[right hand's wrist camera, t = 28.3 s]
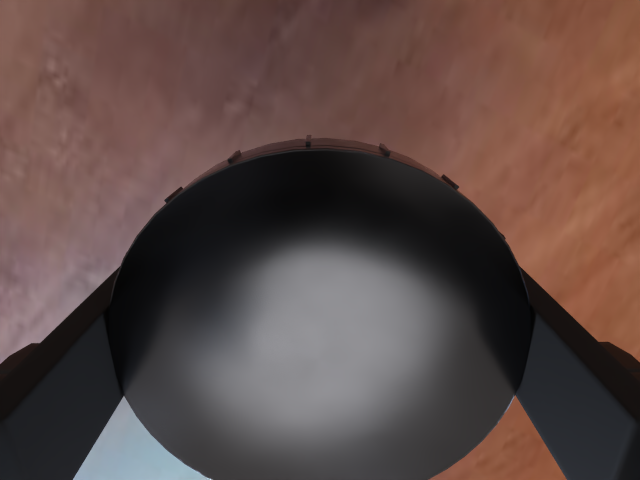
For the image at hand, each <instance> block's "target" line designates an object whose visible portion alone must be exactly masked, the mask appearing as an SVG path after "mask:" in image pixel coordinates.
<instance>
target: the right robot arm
mask: <svg viewBox="0 0 640 480" xmlns="http://www.w3.org/2000/svg"><path fill="white" fill-rule="evenodd" d="M519 267H520V266H519ZM119 269H120V267H119V268H118V269H117V270H116V271H115V272H114V273H113V274H112V275H110V276H109V277H108V278H107V279H106V280H105V281H104V282H103V283H102V284H101V285H100V286H99V287H98V288H97V289H96V290H95V291H94V292H93V293H92V294H91V295H90V296H89V297H88V298H87V299H86V300H85V301H83V302H82V303H81V304H80V305H79V306H78V307H77V308H76V309H75V310H74V311H73V312H72V313H71V314H70V315H69V316H68V317H67V318H66V319H65V320H64V321H63V322H62V323H61V324H60V325H59V326H57V327H56V328H55V329H54V330H53V331H52V332H51V333H50V334H49V335H48V336H47V337H46V338H45V339H44V340H43V341H42V342H41V343H31V344H29V345H28V346H26V347H24V348H23V349H21V350H19V351H17V352H16V353H14V354H12V355H10V356H9V357H8V358H7V359H6V360H4V361H3V362H2V363H1V364H0V480H73V478H74V477H75V475H76V473H77V472H78V470H79V468H80V467H81V465H82V463H83V462H84V460H85V459H86V457H87V455H88V454H89V452H90V450H91V449H92V447H93V445H94V444H95V442H96V440H97V439H98V437H99V436H100V434H101V432H102V431H103V429H104V427H105V426H106V424H107V422H108V421H109V419H110V417H111V416H112V414H113V413H114V411H115V409H116V408H117V406H118V404H119V403H120V401H121V399H122V398H123V396H124V394H123V391H122V389H121V387H120V384H119V382H118V380H117V377H116V373H115V369H114V365H113V360H112V356H111V351H110V346H109V338H108V315H109V304H110V299H111V295H112V290H113V285H114V281H115V279H116V276H117V274H118V271H119ZM520 269H521V272H522V275H523V278H524V282H525V285H526V288H527V291H528V296H529V303H530V310H531V344H530V349H529V354H528V359H527V363H526V368H525V372H524V375H523V378H522V381H521V384H520V386H519V388H518V390H517V392H516V394H515V395H516V397H517V398H518V400H519V402H520V403H521V405H522V406H523V408H524V410H525V411H526V413H527V415H528V416H529V418H530V420H531V421H532V423H533V424H534V426H535V428H536V429H537V431H538V433H539V434H540V436H541V438H542V439H543V441H544V443H545V444H546V446H547V447H548V449H549V451H550V452H551V454H552V456H553V457H554V459H555V461H556V462H557V464H558V466H559V467H560V469H561V470H562V472H563V474H564V475H565V477H566V479H567V480H640V362H638V361H637V360H636V359H635V358H634V357H633V356H632V355H631V354H629V353H627V352H625V351H624V350H622V349H620V348H618V347H617V346H615V345H613V344H611V343H610V342H598V341H597V340H596V339H595V338H594V337H593V336H592V335H591V334H589V333H588V332H587V331H586V330H585V329H584V328H583V327H582V326H581V325H580V324H579V323H578V322H577V321H576V320H575V319H574V318H573V317H572V316H571V315H570V314H569V313H568V312H567V311H566V310H565V309H564V308H562V307H561V306H560V305H559V304H558V303H557V302H556V301H555V300H554V299H553V298H552V297H551V296H550V295H549V294H548V293H547V292H546V291H545V290H544V289H543V288H542V287H541V286H540V285H539V284H538V283H536V282H535V281H534V280H533V279H532V278H531V277H530V276H529V275H528V274H527V273H526V272H525V271H524V270H523V269H522V268H521V267H520Z"/></svg>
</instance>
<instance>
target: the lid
mask: <svg viewBox="0 0 640 480" xmlns="http://www.w3.org/2000/svg"><path fill="white" fill-rule="evenodd" d="M458 188H459V186H458V185H456V184H455V183H454V182H453V181H452V180H450V179H449V178H448V177H447V176H445V175H444V174H443V175H442V177H440V176H439V175H438V174H436V173H435V172H434V171H432V170H431V169H429V168H427V167H425V166H423V165H422V164H420V163H418V162H416V161H414V160H412V159H411V158H409V157H406V156H404V155H401V154H399V153H396V152H393V151H391V150H389V149H388V148H387V147H386V146H385V145H384V144H381V143H380V145H379V146H375V145H370V144H366V143H362V142H358V141H351V140H341V139H330V138H315V139H311V135H307V137H306V139H295V140H289V141H284V142H278V143H272V144H267V145H264V146H261V147H258V148H255V149H252V150H248V151H245V152H242V153H241V152H240V150H238V151H236V152H235V153H234V154H233V155H232V156H231V157H229V158H228V159H227V160H225V161H223V162H221V163H219V164H217V165H215V166H214V167H212V168H211V169H209V170H208V171H206V172H205V173H203V174H202V175H200V176H199V177H197V178H196V179H194V180H193V181H192V182H191V183H190V184H188V185H187V186H186V187H185V188H184V189H183V188H182V187H180V188H179V189H177V190H176V191H175V192H174V193H172V194H171V195H170V196H169V197H167V198H166V199H165V200H164V201H165V202H166V204H165V205H164V206H163V207H162V208H161V209H160V210H159V211H158V212H156V213H155V214H154V215H153V217H152V218H151V219H150V220H149V222H148V223H147V224H146V225H145V226H144V228H143V229H142V230H141V231H140V232H139V234H138V235H137V236H136V238H135V240H134V241H133V243H132V245H131V247H130V248H129V250H128V252H127V253H126V255H125V257H124V258H123V261H122V263H121V266H120V269H119V271H118V274H117V276H116V279H115V281H114V285H113V290H112V295H111V299H110V304H109V315H108V338H109V346H110V351H111V356H112V360H113V365H114V369H115V373H116V377H117V380H118V382H119V384H120V387H121V389H122V391H123V394H124V396H125V398H126V400H127V401H128V403H129V405H130V406H131V408H132V410H133V411H134V413H135V415H136V416H137V418H138V419H139V420H140V421H141V423H142V424H143V425H144V426H145V428H146V429H147V430H148V431H149V433H150V434H151V435H152V436H153V437H154V438H155V439H156V440H157V441H158V442H159V443H160V444H161V445H162V446H163V447H164V448H165V449H166V450H167V451H169V452H170V453H171V454H173V455H174V456H175V457H176V458H178V459H179V460H180V461H182V462H183V463H184V464H186V465H187V466H189V467H190V468H192V469H194V470H195V471H197V472H199V473H200V474H202V475H203V476H205V477H207V478H209V479H211V480H428V479H430V478H432V477H434V476H436V475H437V474H439V473H441V472H443V471H445V470H446V469H448V468H449V467H451V466H452V465H453V464H455V463H456V462H458V461H459V460H461V459H462V458H463V457H465V456H466V455H467V454H468V453H469V452H471V451H472V450H473V449H474V448H475V447H476V446H477V445H478V444H480V443H481V442H482V441H483V440H484V438H485V437H486V436H487V435H488V434H489V433H490V432H491V431H492V429H493V428H494V427H495V426H496V425H497V424H498V422H499V421H500V419H501V418H502V416H503V415H504V413H505V412H506V410H507V409H508V408H509V406H510V404H511V402H512V400H513V398H514V396H515V394H516V392H517V390H518V388H519V386H520V384H521V381H522V378H523V375H524V372H525V368H526V363H527V359H528V354H529V349H530V344H531V310H530V303H529V296H528V291H527V288H526V285H525V282H524V278H523V275H522V272H521V269H520V267H519V265H518V263H517V261H516V259H515V257H514V255H513V253H512V251H511V249H510V247H509V245H508V244H507V242H506V241H505V239H506V238H505V237H504V235H502V234H501V233H500V232H499V231H498V230H497V228H496V227H495V225H494V224H493V223H492V222H491V221H490V220H489V219H488V218H487V217H486V216H485V215H484V214H483V213H482V212H481V211H480V210H479V209H478V207H477V206H476V205H475V204H474V203H473V202H471V201H470V200H469V199H468V198H467V197H465V196H464V195H463V194H462V193H461V192H459V191H458V190H457V189H458Z"/></svg>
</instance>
